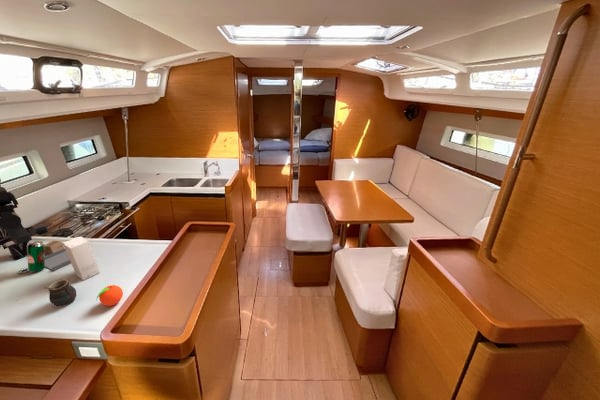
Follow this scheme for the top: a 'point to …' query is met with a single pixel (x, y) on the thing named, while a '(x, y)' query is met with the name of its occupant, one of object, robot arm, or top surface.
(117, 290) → the clementine
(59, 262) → the tray
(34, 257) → the soda can
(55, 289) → the mate gourd
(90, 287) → the top surface
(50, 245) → the walnut block
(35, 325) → the top surface
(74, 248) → the skincare box
